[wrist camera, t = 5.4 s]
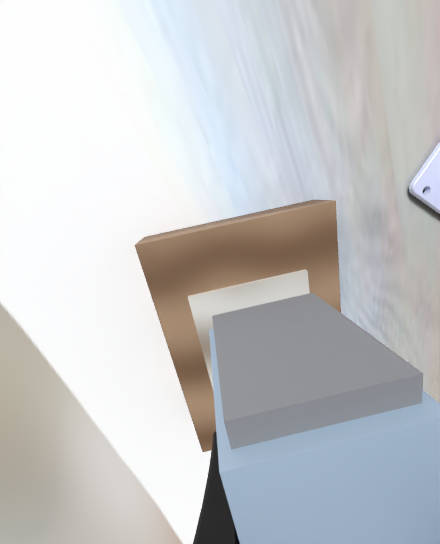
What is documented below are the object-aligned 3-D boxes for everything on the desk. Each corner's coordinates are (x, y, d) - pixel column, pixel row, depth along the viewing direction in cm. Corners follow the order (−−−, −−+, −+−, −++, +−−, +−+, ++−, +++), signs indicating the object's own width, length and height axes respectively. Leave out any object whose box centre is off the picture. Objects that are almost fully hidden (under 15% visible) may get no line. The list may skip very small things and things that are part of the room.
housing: (330, 424, 13) (440, 606, 7) (238, 447, 12) (270, 651, 7) (315, 288, 11) (454, 383, 5) (204, 313, 10) (211, 442, 5)
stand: (144, 237, 15) (133, 246, 12) (314, 199, 15) (338, 200, 13) (202, 421, 20) (202, 456, 17) (328, 391, 20) (347, 421, 18)
